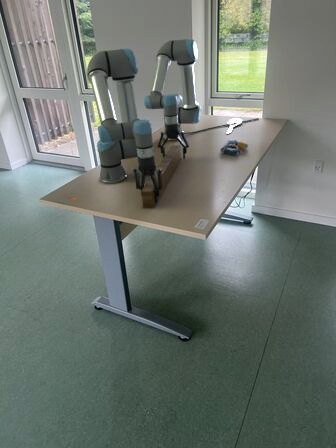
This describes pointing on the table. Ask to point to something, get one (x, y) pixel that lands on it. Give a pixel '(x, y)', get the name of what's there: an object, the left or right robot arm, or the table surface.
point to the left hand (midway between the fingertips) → (151, 201)
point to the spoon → (233, 124)
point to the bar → (167, 167)
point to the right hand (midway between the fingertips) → (174, 158)
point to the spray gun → (233, 147)
